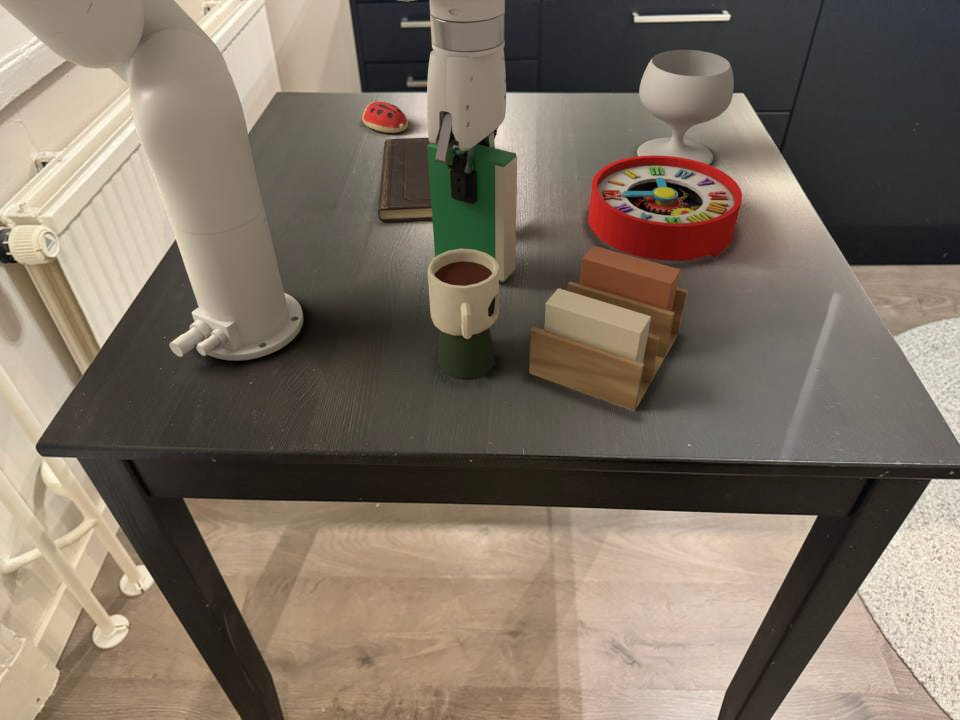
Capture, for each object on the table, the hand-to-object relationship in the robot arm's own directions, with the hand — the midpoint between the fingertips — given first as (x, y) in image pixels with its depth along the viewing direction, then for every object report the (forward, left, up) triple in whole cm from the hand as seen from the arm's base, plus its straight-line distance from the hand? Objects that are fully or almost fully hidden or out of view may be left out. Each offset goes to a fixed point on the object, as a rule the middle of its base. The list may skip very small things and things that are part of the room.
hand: (472, 192), depth 86 cm
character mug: (-16, -8, -12) cm, 21 cm away
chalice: (+45, -12, -12) cm, 48 cm away
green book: (0, 0, -11) cm, 11 cm away
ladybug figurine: (+33, +37, -12) cm, 51 cm away
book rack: (-7, -21, -12) cm, 25 cm away
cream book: (-12, -21, -11) cm, 26 cm away
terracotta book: (-2, -21, -11) cm, 24 cm away
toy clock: (+23, -17, -12) cm, 31 cm away
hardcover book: (+19, +18, -12) cm, 29 cm away
